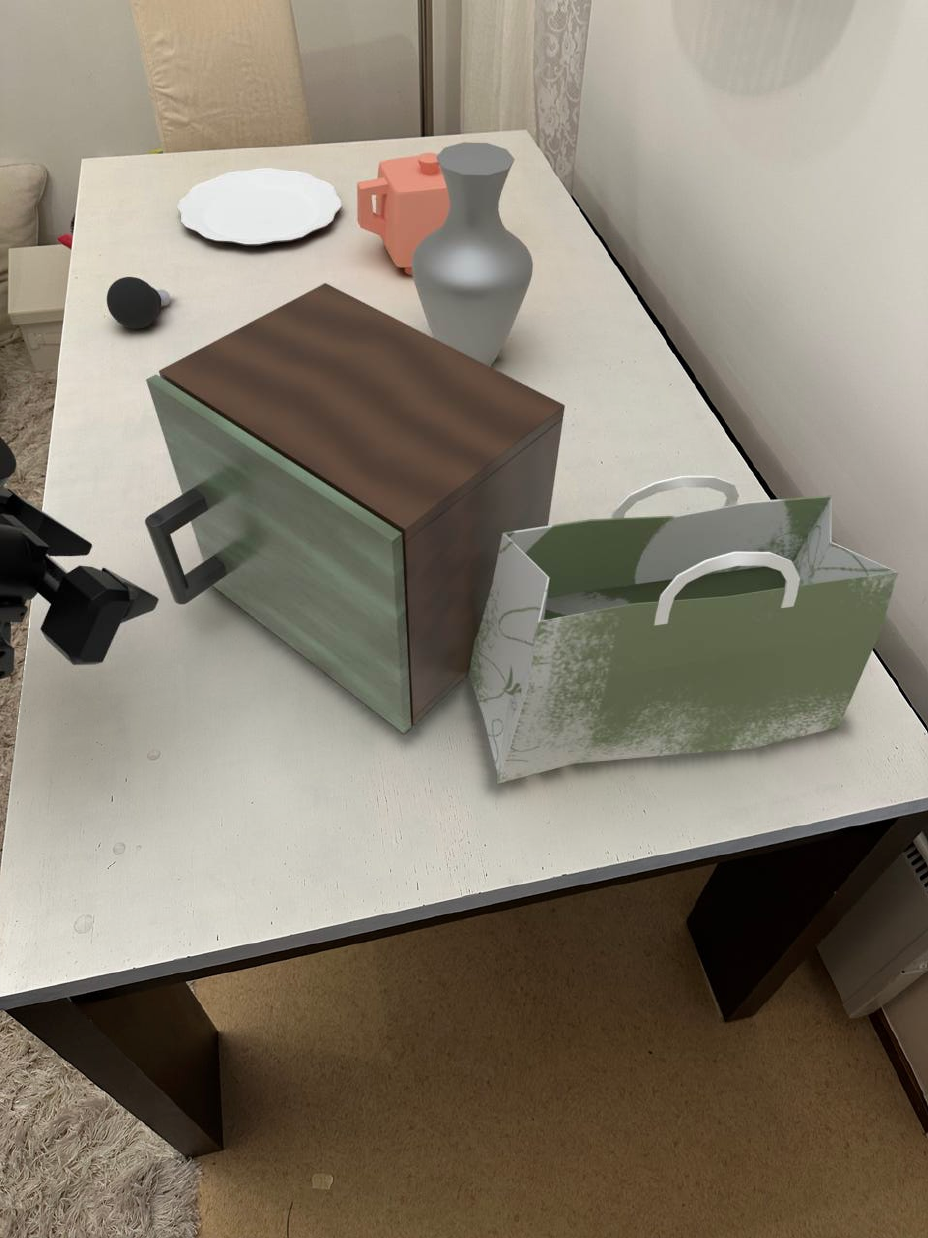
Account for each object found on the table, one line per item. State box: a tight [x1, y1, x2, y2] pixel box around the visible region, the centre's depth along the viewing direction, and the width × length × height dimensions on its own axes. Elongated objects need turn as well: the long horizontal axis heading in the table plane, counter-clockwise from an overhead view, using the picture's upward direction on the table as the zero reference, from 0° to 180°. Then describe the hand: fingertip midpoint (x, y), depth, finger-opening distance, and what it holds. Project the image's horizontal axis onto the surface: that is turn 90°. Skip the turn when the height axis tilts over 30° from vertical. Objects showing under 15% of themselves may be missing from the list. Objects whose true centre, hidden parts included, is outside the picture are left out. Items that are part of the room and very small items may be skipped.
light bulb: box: [106, 276, 172, 330], centre depth 112 cm, size 6×6×10 cm
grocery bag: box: [468, 475, 899, 785], centre depth 68 cm, size 32×14×23 cm, turn 101°
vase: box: [412, 141, 534, 368], centre depth 100 cm, size 14×14×25 cm
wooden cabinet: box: [158, 282, 566, 726], centre depth 75 cm, size 18×26×24 cm
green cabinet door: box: [144, 374, 412, 734], centre depth 69 cm, size 6×26×24 cm, turn 50°
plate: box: [176, 167, 343, 247], centre depth 133 cm, size 25×25×2 cm
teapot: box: [356, 152, 450, 276], centre depth 121 cm, size 22×13×14 cm, turn 108°
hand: (121, 575), depth 70 cm, fingers open, 9 cm apart
